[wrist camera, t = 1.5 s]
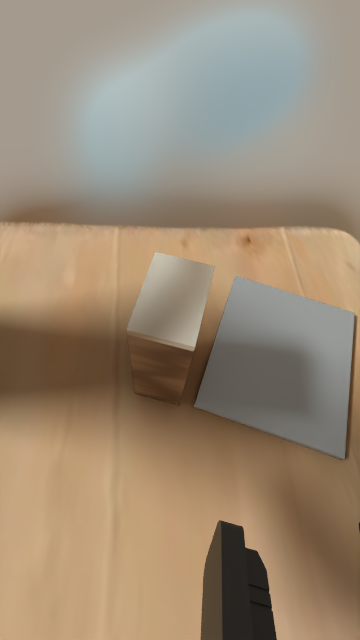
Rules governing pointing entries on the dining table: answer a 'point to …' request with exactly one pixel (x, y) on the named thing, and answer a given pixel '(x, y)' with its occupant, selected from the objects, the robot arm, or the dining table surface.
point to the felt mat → (281, 366)
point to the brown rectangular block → (167, 325)
